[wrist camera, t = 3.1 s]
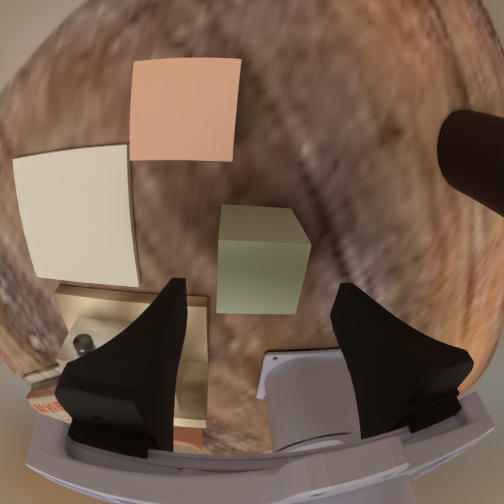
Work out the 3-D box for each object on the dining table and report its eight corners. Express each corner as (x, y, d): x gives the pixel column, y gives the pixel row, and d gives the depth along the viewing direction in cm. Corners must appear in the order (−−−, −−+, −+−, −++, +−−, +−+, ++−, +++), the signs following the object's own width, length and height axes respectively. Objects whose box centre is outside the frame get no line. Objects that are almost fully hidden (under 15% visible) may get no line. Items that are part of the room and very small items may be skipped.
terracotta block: (238, 75, 13) (241, 59, 9) (231, 147, 15) (232, 161, 11) (162, 75, 13) (134, 61, 8) (158, 145, 15) (129, 160, 10)
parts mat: (130, 143, 14) (126, 144, 14) (141, 282, 19) (139, 286, 19) (17, 157, 13) (12, 159, 13) (40, 273, 18) (37, 276, 18)
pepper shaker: (142, 423, 31) (130, 539, 14) (175, 414, 29) (168, 549, 12) (179, 440, 34) (176, 545, 17) (213, 431, 32) (217, 550, 16)
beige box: (207, 296, 20) (201, 373, 14) (208, 364, 24) (206, 429, 18) (59, 284, 19) (21, 342, 13) (85, 350, 23) (64, 404, 17)
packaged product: (63, 432, 27) (13, 396, 22) (70, 409, 31) (24, 372, 26) (138, 432, 24) (71, 386, 19) (143, 400, 28) (85, 351, 23)
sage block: (290, 208, 17) (311, 244, 13) (281, 267, 19) (295, 314, 15) (221, 204, 17) (218, 240, 12) (218, 264, 19) (216, 312, 15)
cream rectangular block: (180, 319, 20) (170, 373, 15) (185, 361, 22) (179, 409, 18) (76, 309, 19) (52, 353, 14) (92, 349, 21) (76, 391, 17)
